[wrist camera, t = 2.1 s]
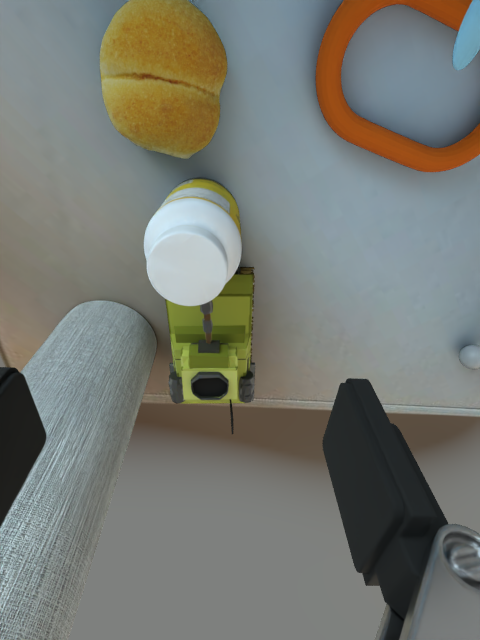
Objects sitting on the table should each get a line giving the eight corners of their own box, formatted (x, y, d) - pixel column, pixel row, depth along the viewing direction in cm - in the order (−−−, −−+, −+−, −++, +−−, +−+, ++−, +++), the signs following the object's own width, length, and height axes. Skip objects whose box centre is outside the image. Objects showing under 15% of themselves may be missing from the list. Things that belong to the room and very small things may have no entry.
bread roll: (234, 16, 22) (235, 0, 18) (212, 162, 27) (210, 171, 23) (105, -21, 21) (80, -45, 17) (106, 138, 26) (87, 143, 22)
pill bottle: (207, 264, 31) (195, 337, 22) (149, 217, 29) (107, 276, 19) (255, 213, 29) (267, 269, 19) (197, 157, 26) (176, 188, 17)
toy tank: (256, 255, 31) (264, 311, 23) (251, 374, 39) (256, 449, 31) (166, 254, 31) (141, 311, 22) (180, 375, 39) (165, 449, 30)
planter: (159, 376, 39) (56, 757, 16) (71, 370, 38) (-164, 760, 16) (156, 302, 33) (-6, 720, 11) (53, 294, 33) (-348, 722, 10)
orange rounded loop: (366, -74, 18) (570, 41, 21) (357, -62, 20) (549, 45, 23) (294, 119, 23) (467, 191, 26) (291, 118, 25) (455, 187, 28)
